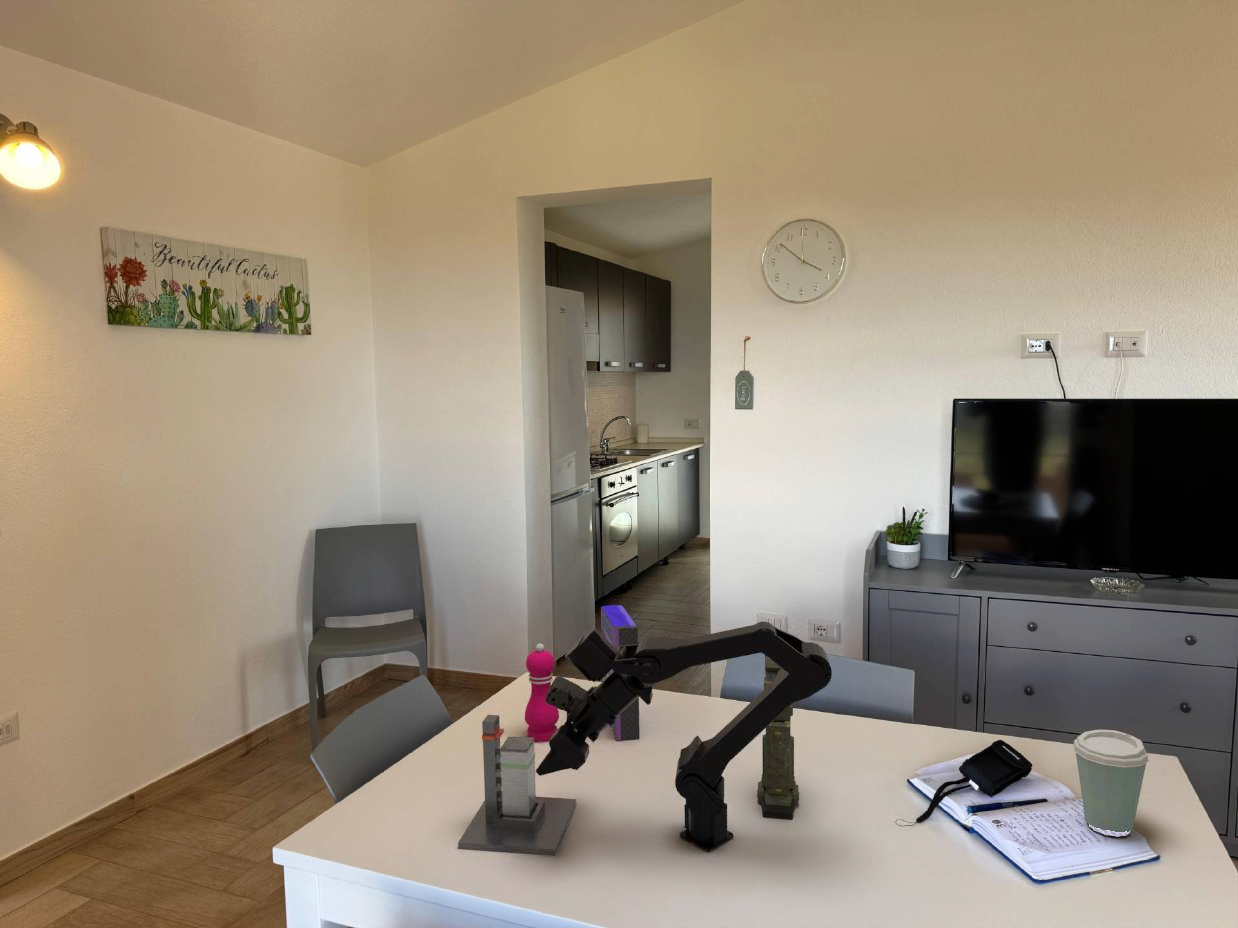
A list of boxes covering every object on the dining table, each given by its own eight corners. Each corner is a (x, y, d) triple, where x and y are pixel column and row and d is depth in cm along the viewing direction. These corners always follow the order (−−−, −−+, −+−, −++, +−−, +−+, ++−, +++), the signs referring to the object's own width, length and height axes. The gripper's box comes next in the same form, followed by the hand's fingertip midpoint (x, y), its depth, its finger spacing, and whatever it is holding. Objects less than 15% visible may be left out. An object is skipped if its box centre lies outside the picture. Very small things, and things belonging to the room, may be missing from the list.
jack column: (536, 808, 143) (534, 737, 142) (529, 823, 139) (527, 749, 137) (510, 807, 144) (508, 736, 143) (502, 821, 139) (500, 748, 138)
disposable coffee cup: (1113, 851, 131) (1117, 759, 129) (1054, 818, 141) (1057, 732, 139) (1160, 836, 135) (1164, 746, 133) (1099, 805, 145) (1103, 721, 143)
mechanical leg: (799, 826, 138) (800, 640, 142) (755, 822, 139) (756, 638, 143) (798, 804, 151) (799, 635, 155) (758, 801, 153) (759, 633, 157)
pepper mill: (520, 732, 178) (517, 641, 176) (552, 726, 181) (550, 636, 179) (531, 745, 172) (529, 651, 170) (564, 739, 175) (562, 645, 173)
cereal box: (603, 708, 190) (601, 605, 188) (623, 707, 191) (622, 604, 189) (616, 741, 173) (614, 628, 171) (639, 739, 174) (637, 626, 172)
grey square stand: (576, 804, 148) (574, 703, 146) (555, 855, 132) (552, 742, 130) (489, 798, 151) (485, 699, 149) (458, 848, 135) (454, 737, 133)
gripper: (585, 645, 146) (525, 703, 149) (561, 684, 128) (493, 749, 131) (630, 691, 146) (569, 748, 149) (613, 737, 127) (544, 801, 130)
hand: (544, 760), depth 139 cm, fingers open, 9 cm apart
